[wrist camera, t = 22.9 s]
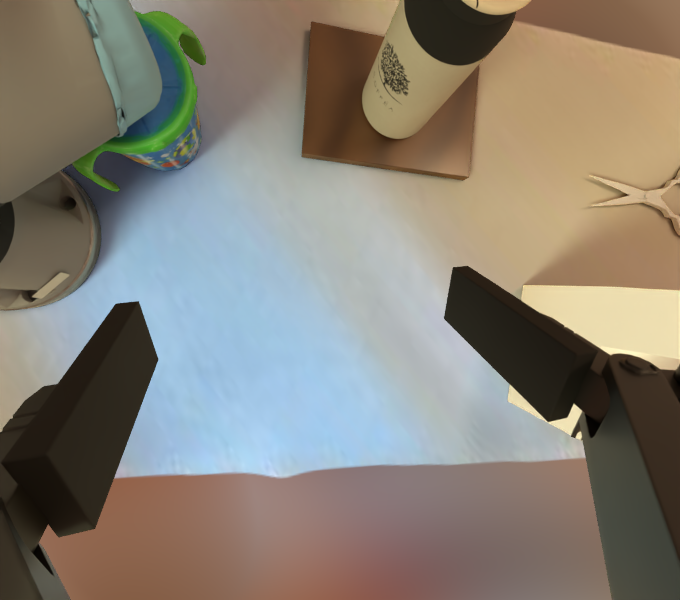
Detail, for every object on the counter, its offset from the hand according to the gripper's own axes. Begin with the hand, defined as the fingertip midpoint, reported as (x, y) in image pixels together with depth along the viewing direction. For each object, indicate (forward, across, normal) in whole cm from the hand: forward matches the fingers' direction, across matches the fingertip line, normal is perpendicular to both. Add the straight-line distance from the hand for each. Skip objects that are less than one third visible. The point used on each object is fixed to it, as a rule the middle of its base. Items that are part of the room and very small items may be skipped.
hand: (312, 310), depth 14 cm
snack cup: (+30, -10, +6) cm, 32 cm away
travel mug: (+29, +15, +9) cm, 33 cm away
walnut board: (+30, +15, +8) cm, 34 cm away
